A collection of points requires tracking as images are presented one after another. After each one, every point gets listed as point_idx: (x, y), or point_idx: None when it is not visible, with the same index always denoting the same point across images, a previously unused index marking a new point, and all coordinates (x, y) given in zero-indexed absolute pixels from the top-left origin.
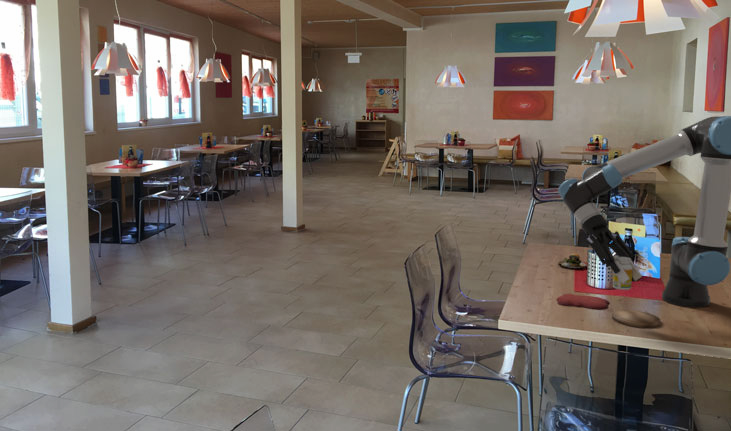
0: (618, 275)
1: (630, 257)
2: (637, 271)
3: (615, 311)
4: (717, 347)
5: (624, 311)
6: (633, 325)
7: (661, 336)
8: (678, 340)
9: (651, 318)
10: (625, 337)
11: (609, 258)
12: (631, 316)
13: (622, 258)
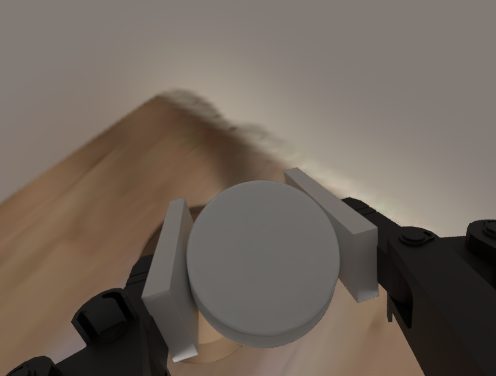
0: None
1: (128, 301)
2: (182, 211)
3: (228, 353)
4: (172, 93)
5: (199, 339)
6: None
7: (231, 158)
8: (214, 133)
9: None
10: (321, 169)
11: (481, 242)
12: None
13: (289, 240)
